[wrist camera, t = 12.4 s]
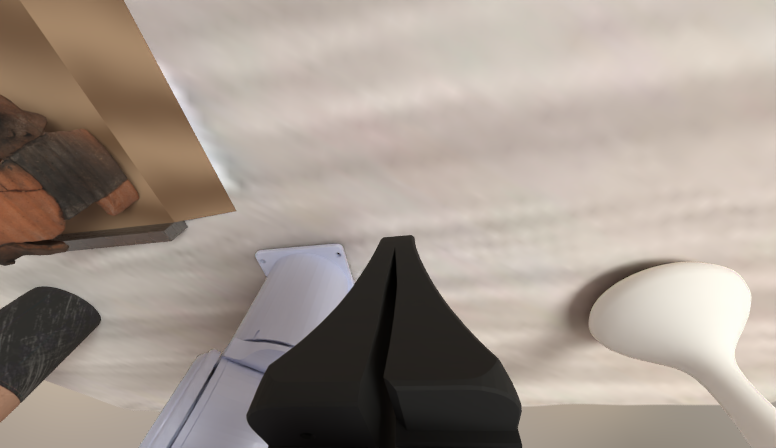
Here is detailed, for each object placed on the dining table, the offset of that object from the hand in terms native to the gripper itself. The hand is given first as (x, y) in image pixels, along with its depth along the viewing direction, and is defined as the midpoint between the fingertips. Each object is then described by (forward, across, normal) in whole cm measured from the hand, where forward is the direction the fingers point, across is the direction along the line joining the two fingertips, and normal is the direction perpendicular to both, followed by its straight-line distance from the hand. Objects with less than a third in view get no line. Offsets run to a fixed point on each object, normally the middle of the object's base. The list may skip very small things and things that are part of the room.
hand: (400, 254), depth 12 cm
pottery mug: (+9, +24, -4) cm, 26 cm away
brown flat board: (+9, +24, -6) cm, 26 cm away
